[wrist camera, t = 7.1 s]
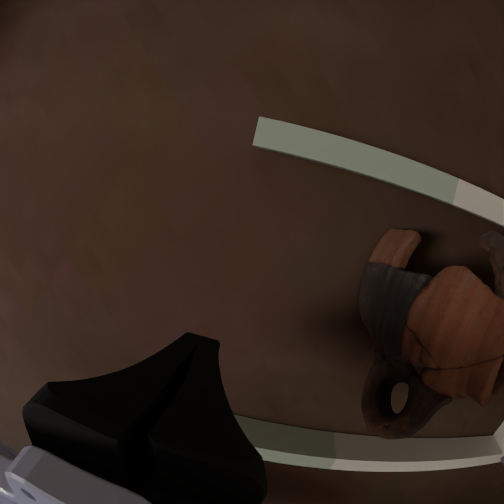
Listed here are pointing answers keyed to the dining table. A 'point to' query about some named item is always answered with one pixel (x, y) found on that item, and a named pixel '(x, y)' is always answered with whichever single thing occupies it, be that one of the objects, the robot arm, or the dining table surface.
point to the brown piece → (429, 333)
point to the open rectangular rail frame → (361, 446)
